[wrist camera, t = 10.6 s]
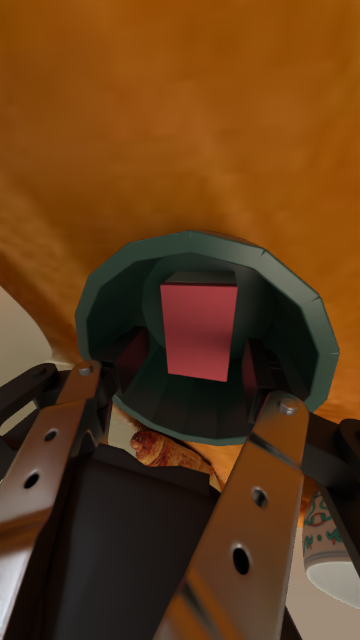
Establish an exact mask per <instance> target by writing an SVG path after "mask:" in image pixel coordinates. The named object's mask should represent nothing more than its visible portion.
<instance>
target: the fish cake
mask: <svg viewBox="0 0 360 640" xmlns="http://www.w3.org/2000/svg"><path fill="white" fill-rule="evenodd" d="M160 289H161V300H162V310H163V321H164V332H165V343H166V353H167V364H168V373H171V374H177V375H184V376H190V377H197V378H204V379H210V380H217V381H223V382H226V381H227V374H228V366H229V357H230V349H231V340H232V332H233V324H234V315H235V307H236V298H237V290H238V287H237V282H236V277H235V272H201V271H177V272H176V273H174V274H173V275H172V276H171V277H170V278H168V279H167V280H166V281H165V282H163V283H162V284H161V285H160Z"/></svg>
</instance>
